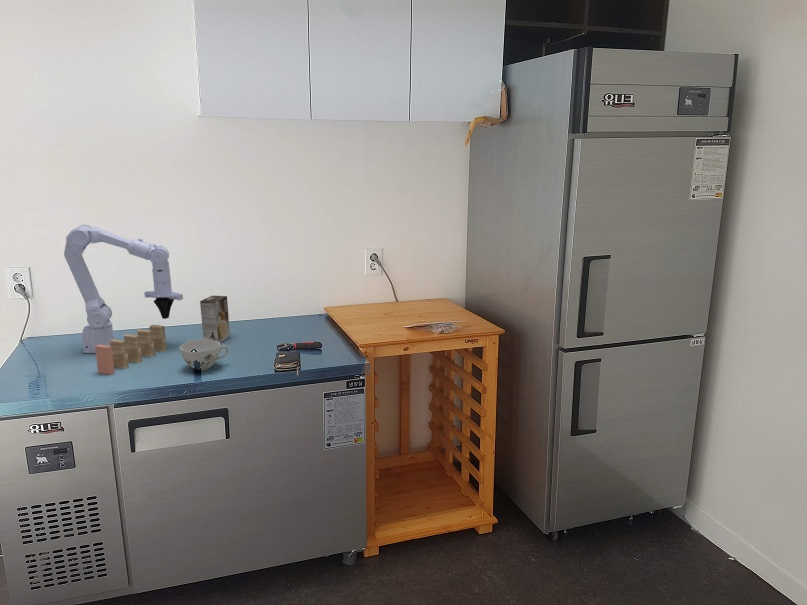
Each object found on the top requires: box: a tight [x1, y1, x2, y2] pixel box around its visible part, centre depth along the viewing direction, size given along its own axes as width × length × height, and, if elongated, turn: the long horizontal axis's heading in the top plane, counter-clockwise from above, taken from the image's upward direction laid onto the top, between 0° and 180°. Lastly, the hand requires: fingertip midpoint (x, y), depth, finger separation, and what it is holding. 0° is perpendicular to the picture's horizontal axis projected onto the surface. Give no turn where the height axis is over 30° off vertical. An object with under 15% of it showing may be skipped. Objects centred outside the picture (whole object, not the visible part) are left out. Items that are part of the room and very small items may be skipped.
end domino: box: [95, 344, 116, 376], centre depth 198 cm, size 2×5×9 cm, turn 69°
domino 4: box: [149, 324, 168, 353], centre depth 219 cm, size 2×5×9 cm, turn 70°
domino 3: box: [136, 328, 156, 358], centre depth 214 cm, size 2×5×9 cm, turn 70°
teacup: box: [179, 338, 229, 371], centre depth 203 cm, size 15×12×8 cm
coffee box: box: [199, 295, 231, 344], centre depth 231 cm, size 9×6×16 cm
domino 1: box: [110, 338, 130, 370], centre depth 203 cm, size 2×5×9 cm, turn 70°
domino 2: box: [123, 333, 143, 364], centre depth 209 cm, size 2×5×9 cm, turn 69°
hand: (165, 318), depth 223 cm, fingers closed
